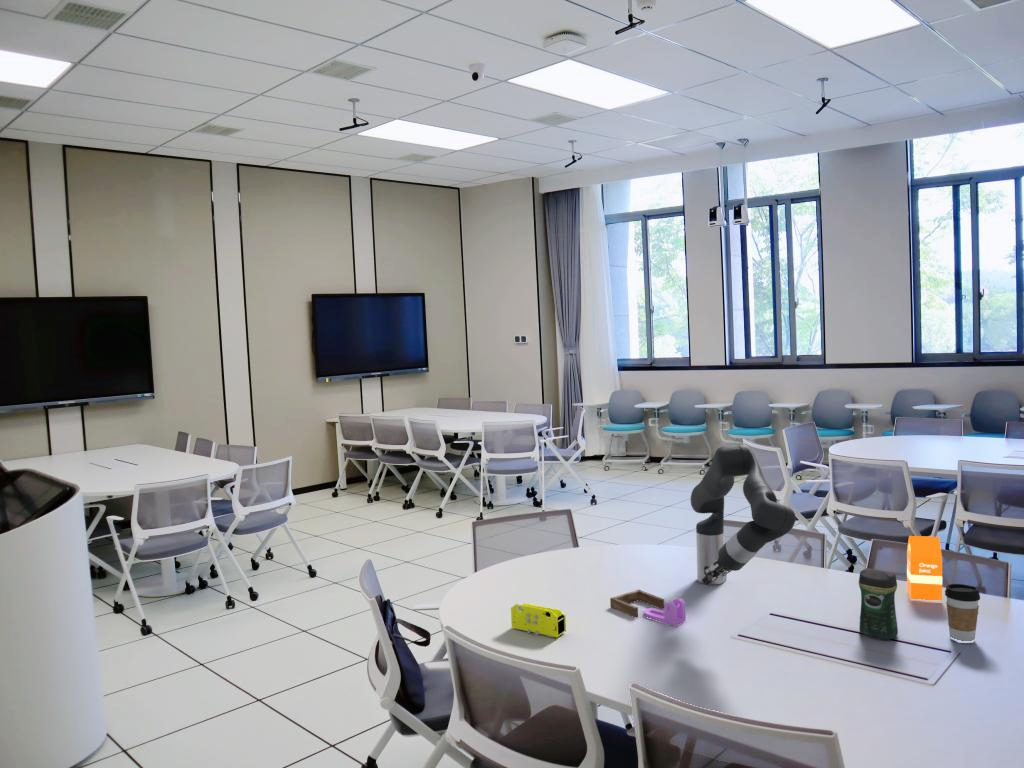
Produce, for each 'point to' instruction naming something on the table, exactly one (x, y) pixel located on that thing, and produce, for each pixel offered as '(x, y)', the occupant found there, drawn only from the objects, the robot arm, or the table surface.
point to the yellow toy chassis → (538, 620)
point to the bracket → (668, 612)
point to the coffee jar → (878, 604)
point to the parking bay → (623, 601)
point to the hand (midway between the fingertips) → (705, 582)
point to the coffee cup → (962, 610)
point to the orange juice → (924, 568)
